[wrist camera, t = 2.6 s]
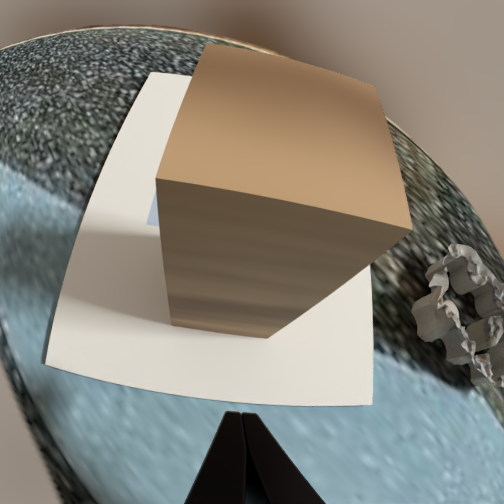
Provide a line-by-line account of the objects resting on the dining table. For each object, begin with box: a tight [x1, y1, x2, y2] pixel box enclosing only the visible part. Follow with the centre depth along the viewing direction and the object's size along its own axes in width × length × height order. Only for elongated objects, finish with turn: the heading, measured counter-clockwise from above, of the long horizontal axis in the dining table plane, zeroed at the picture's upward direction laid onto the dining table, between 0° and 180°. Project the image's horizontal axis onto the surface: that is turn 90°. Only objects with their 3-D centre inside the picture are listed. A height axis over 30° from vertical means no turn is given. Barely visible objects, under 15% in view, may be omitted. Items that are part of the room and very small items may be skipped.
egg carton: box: [411, 244, 504, 388], centre depth 19 cm, size 11×8×4 cm
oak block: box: [155, 43, 413, 339], centre depth 12 cm, size 5×5×12 cm
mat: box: [45, 72, 373, 406], centre depth 20 cm, size 24×18×1 cm
